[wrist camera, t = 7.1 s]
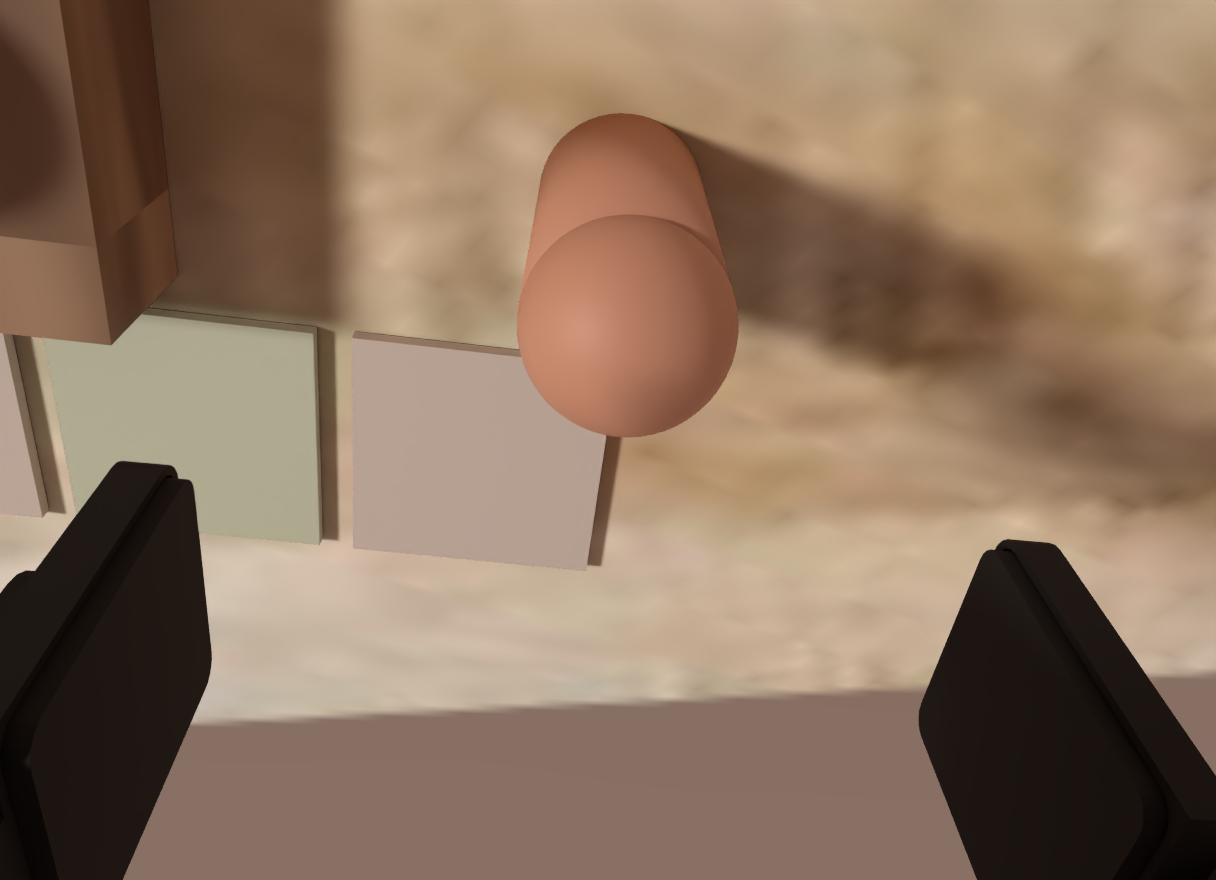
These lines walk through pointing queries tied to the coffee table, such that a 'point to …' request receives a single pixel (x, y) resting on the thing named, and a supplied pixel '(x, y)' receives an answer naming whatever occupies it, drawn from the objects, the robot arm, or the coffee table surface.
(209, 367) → the tile strip
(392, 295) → the coffee table surface
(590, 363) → the brown rounded cylinder piece
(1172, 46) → the coffee table surface
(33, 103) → the frame
